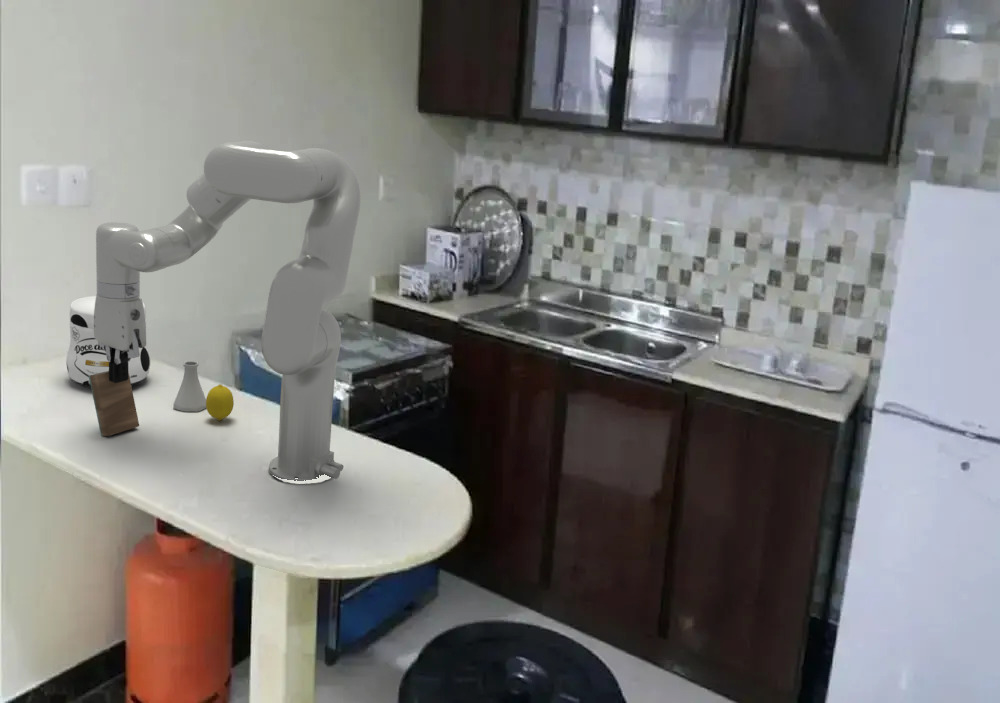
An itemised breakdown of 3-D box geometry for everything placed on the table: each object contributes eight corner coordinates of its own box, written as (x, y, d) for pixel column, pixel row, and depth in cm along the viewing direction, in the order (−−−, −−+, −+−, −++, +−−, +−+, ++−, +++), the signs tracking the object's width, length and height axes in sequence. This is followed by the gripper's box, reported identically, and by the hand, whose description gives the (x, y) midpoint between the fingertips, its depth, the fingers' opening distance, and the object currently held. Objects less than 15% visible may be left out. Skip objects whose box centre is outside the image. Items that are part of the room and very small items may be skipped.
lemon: (200, 421, 193) (200, 385, 190) (216, 413, 198) (217, 378, 196) (222, 427, 191) (223, 391, 189) (238, 419, 196) (239, 383, 194)
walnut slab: (139, 426, 186) (127, 367, 184) (109, 435, 180) (96, 375, 178) (131, 426, 187) (119, 368, 185) (101, 435, 181) (88, 375, 179)
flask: (201, 414, 197) (202, 370, 194) (167, 410, 197) (167, 366, 194) (212, 402, 204) (213, 359, 201) (179, 399, 204) (180, 355, 201)
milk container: (83, 399, 197) (81, 318, 192) (55, 374, 209) (53, 297, 204) (162, 387, 209) (163, 310, 204) (132, 364, 221) (132, 291, 216)
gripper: (161, 295, 175) (160, 386, 180) (109, 278, 182) (110, 366, 187) (127, 300, 168) (127, 395, 174) (75, 283, 175) (76, 374, 181)
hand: (118, 380), depth 180 cm, fingers closed
